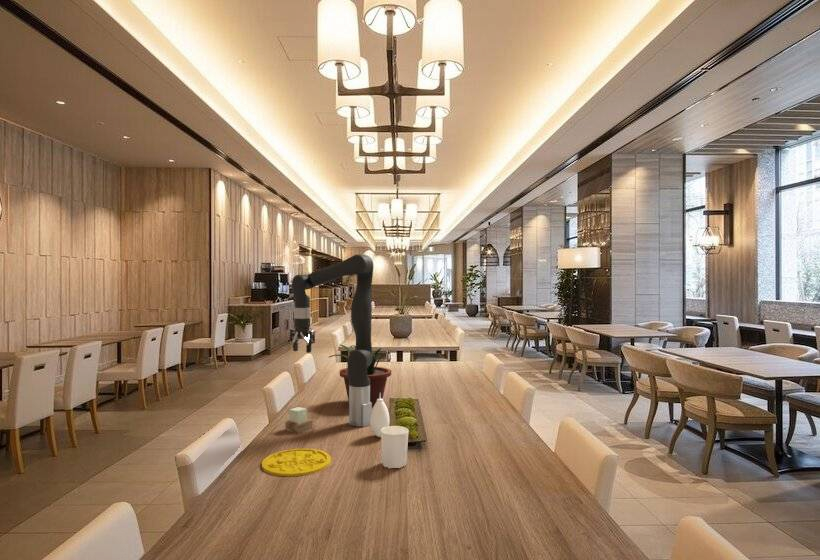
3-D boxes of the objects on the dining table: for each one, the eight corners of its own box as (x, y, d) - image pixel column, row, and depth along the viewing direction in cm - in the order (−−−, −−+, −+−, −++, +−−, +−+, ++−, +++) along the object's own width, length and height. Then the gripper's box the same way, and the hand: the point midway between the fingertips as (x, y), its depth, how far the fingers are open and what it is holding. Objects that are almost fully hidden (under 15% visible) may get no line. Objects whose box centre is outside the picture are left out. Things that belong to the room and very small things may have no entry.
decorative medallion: (260, 480, 155) (260, 474, 155) (262, 454, 177) (262, 449, 177) (334, 473, 161) (334, 467, 161) (327, 449, 184) (327, 444, 184)
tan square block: (312, 429, 208) (312, 420, 208) (299, 434, 201) (299, 424, 201) (298, 426, 212) (298, 417, 212) (285, 431, 205) (285, 421, 205)
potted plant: (388, 414, 231) (389, 351, 231) (321, 413, 232) (322, 350, 232) (392, 396, 266) (393, 342, 266) (334, 395, 266) (334, 341, 266)
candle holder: (374, 466, 166) (375, 431, 166) (389, 457, 175) (389, 424, 175) (399, 472, 162) (400, 436, 162) (413, 462, 170) (413, 428, 170)
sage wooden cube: (306, 420, 207) (306, 408, 207) (297, 423, 203) (298, 411, 203) (298, 418, 210) (298, 406, 210) (289, 421, 206) (289, 409, 206)
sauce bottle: (386, 440, 193) (387, 395, 193) (367, 438, 195) (368, 394, 195) (391, 434, 201) (391, 391, 201) (373, 433, 203) (373, 390, 203)
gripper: (319, 317, 226) (318, 352, 226) (297, 316, 234) (297, 349, 234) (307, 318, 220) (307, 354, 220) (285, 317, 228) (285, 351, 228)
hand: (301, 351), depth 227 cm, fingers open, 8 cm apart
